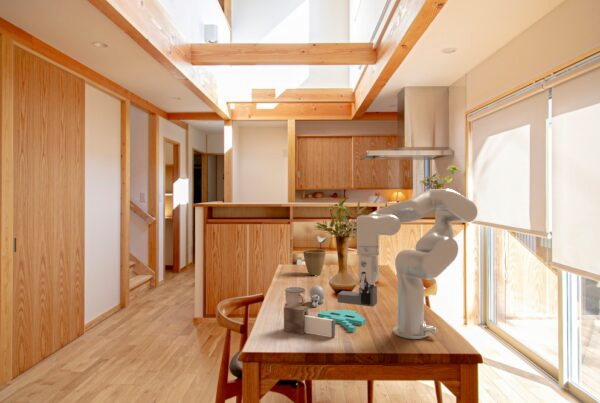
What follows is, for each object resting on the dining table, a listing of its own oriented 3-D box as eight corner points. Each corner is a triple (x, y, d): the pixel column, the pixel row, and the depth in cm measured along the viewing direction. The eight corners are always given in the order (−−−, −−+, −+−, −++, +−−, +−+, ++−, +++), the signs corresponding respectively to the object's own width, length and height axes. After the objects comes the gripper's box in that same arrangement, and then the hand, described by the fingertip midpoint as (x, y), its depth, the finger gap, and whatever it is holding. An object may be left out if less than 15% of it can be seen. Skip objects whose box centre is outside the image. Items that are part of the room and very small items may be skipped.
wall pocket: (308, 330, 147) (308, 306, 147) (302, 334, 142) (302, 310, 142) (290, 327, 150) (290, 304, 150) (283, 331, 146) (283, 307, 146)
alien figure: (353, 333, 145) (371, 319, 162) (353, 327, 145) (371, 314, 162) (307, 324, 155) (329, 312, 172) (307, 319, 155) (329, 307, 172)
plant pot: (315, 271, 262) (315, 248, 262) (330, 275, 251) (330, 251, 250) (298, 274, 252) (298, 250, 252) (313, 278, 241) (313, 253, 241)
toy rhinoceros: (306, 312, 179) (304, 297, 176) (312, 296, 190) (310, 282, 187) (321, 313, 177) (320, 298, 174) (326, 297, 188) (324, 282, 185)
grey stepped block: (377, 302, 135) (376, 286, 135) (373, 306, 130) (373, 289, 130) (342, 298, 141) (342, 282, 141) (337, 302, 136) (337, 285, 136)
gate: (335, 335, 140) (335, 319, 140) (333, 337, 139) (333, 320, 139) (304, 330, 146) (304, 314, 146) (302, 331, 144) (302, 316, 144)
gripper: (371, 254, 124) (371, 310, 124) (384, 247, 139) (384, 297, 140) (349, 253, 127) (350, 307, 128) (364, 246, 143) (364, 294, 143)
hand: (368, 301), depth 134 cm, fingers closed on grey stepped block, 5 cm apart
